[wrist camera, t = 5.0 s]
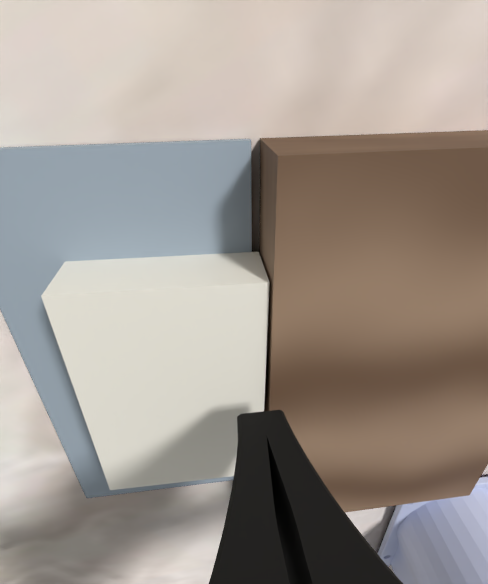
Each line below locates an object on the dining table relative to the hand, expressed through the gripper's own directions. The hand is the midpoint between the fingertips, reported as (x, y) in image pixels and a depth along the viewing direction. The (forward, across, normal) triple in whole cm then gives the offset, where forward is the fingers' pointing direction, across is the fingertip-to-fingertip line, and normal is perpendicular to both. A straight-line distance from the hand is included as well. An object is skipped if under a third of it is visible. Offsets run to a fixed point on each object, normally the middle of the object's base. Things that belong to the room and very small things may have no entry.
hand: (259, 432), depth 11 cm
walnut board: (+4, -6, 0) cm, 7 cm away
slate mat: (+4, +4, 0) cm, 5 cm away
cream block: (+3, +3, 0) cm, 4 cm away
